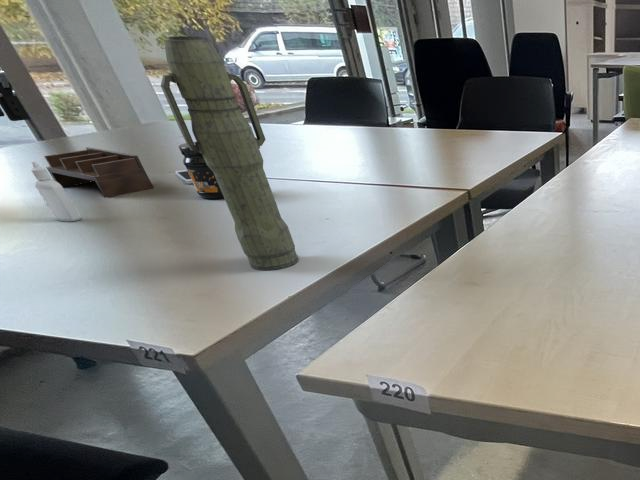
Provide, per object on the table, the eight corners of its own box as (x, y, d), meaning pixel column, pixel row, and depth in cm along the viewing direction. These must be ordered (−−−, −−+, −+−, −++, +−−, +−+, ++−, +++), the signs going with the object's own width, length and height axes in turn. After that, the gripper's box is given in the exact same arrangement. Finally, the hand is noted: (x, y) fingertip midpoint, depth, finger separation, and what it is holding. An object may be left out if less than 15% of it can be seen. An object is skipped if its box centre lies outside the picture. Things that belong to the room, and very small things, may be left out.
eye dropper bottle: (59, 224, 116) (21, 165, 109) (56, 218, 119) (19, 161, 112) (83, 220, 119) (48, 162, 111) (79, 215, 122) (45, 158, 114)
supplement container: (189, 198, 135) (165, 146, 127) (221, 188, 142) (200, 139, 135) (221, 201, 133) (199, 149, 125) (252, 191, 140) (233, 142, 133)
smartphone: (202, 171, 157) (201, 167, 157) (216, 180, 149) (214, 176, 148) (176, 174, 153) (174, 170, 153) (188, 184, 145) (186, 180, 144)
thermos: (315, 260, 102) (238, 37, 80) (253, 276, 96) (151, 37, 73) (294, 249, 107) (216, 36, 84) (234, 264, 100) (132, 35, 77)
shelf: (106, 197, 133) (87, 163, 128) (58, 187, 140) (37, 154, 135) (153, 187, 142) (137, 155, 137) (105, 178, 149) (88, 147, 144)
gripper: (-110, 9, 95) (-37, 117, 106) (-65, 10, 89) (7, 124, 100) (-57, 10, 100) (8, 113, 111) (-12, 11, 95) (52, 119, 106)
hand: (7, 118), depth 106 cm, fingers open, 9 cm apart
